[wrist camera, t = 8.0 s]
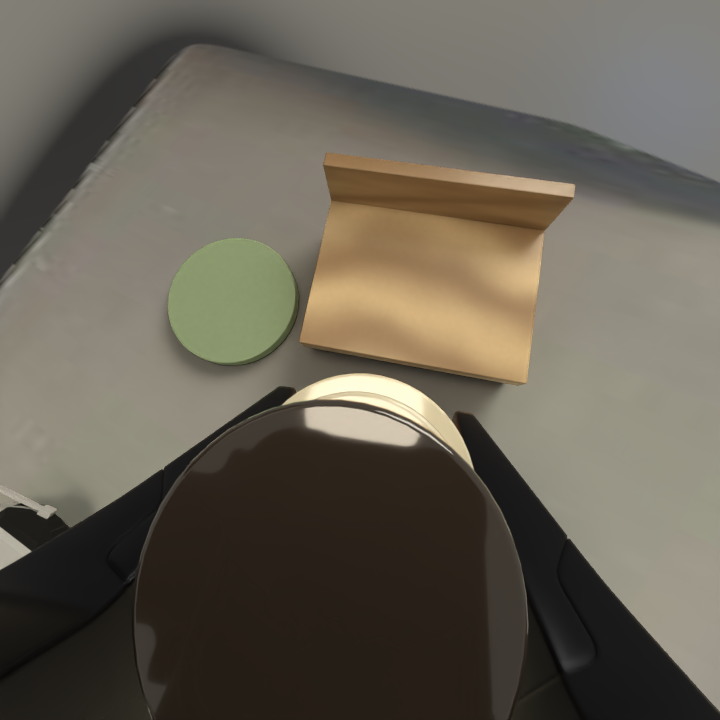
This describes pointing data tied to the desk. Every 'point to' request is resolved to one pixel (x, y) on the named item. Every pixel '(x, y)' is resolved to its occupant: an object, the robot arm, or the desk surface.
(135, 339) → the desk surface
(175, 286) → the disc
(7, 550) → the robot toy
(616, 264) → the desk surface
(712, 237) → the desk surface
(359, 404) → the spice bottle
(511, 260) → the shelf
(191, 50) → the desk surface
